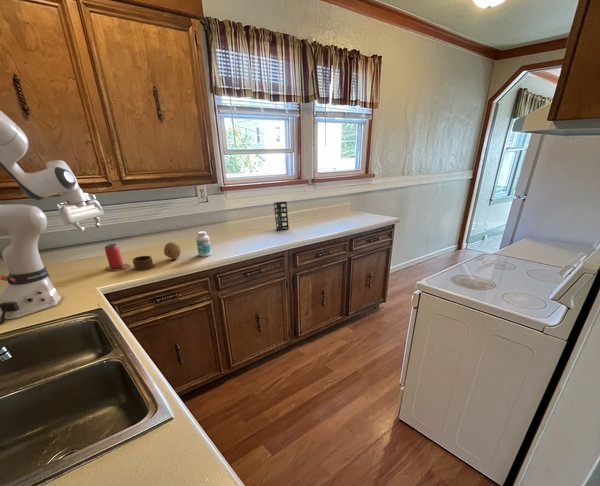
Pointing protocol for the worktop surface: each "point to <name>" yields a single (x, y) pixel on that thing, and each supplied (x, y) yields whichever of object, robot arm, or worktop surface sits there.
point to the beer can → (113, 256)
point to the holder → (279, 215)
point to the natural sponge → (172, 250)
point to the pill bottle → (203, 244)
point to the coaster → (117, 268)
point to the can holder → (143, 263)
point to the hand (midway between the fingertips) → (91, 229)
